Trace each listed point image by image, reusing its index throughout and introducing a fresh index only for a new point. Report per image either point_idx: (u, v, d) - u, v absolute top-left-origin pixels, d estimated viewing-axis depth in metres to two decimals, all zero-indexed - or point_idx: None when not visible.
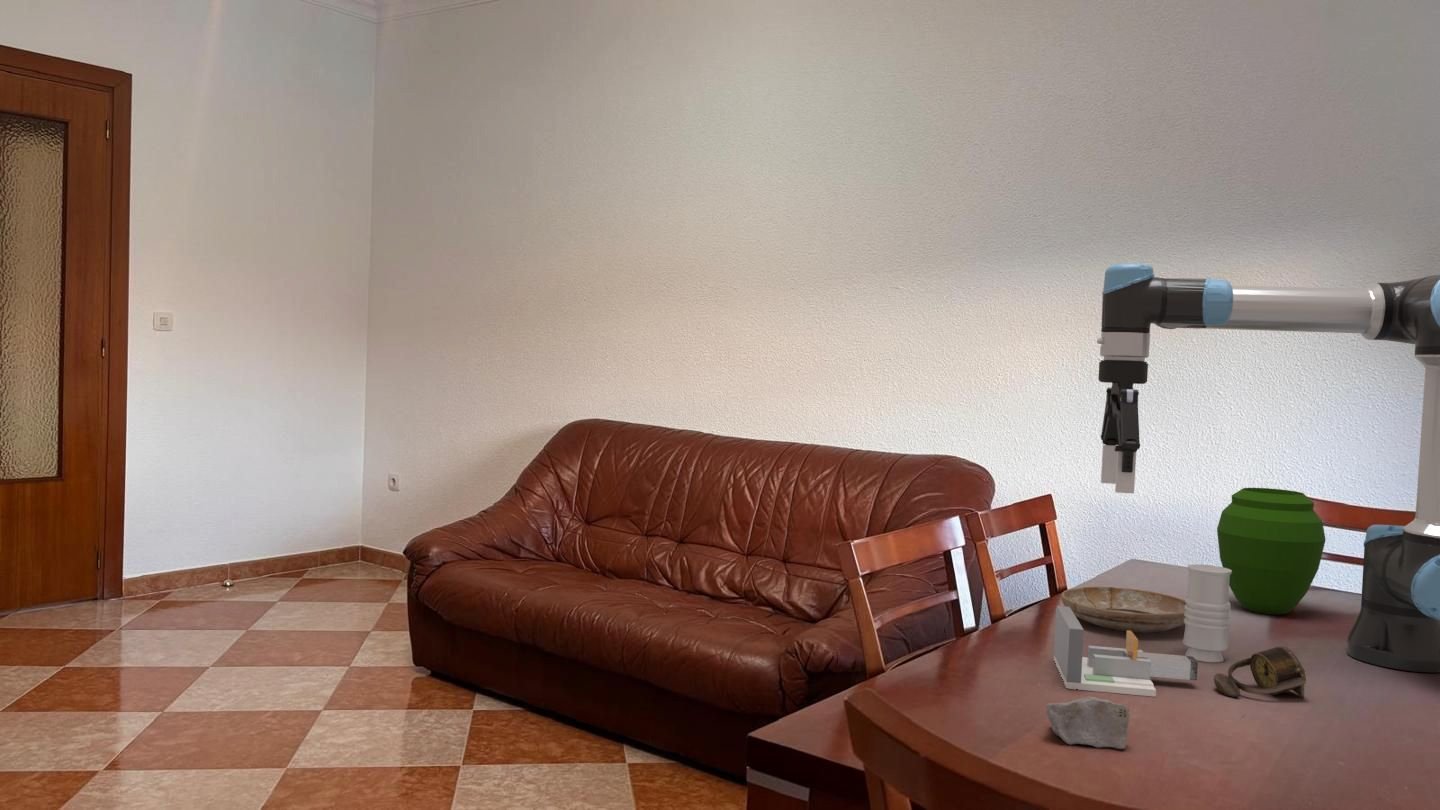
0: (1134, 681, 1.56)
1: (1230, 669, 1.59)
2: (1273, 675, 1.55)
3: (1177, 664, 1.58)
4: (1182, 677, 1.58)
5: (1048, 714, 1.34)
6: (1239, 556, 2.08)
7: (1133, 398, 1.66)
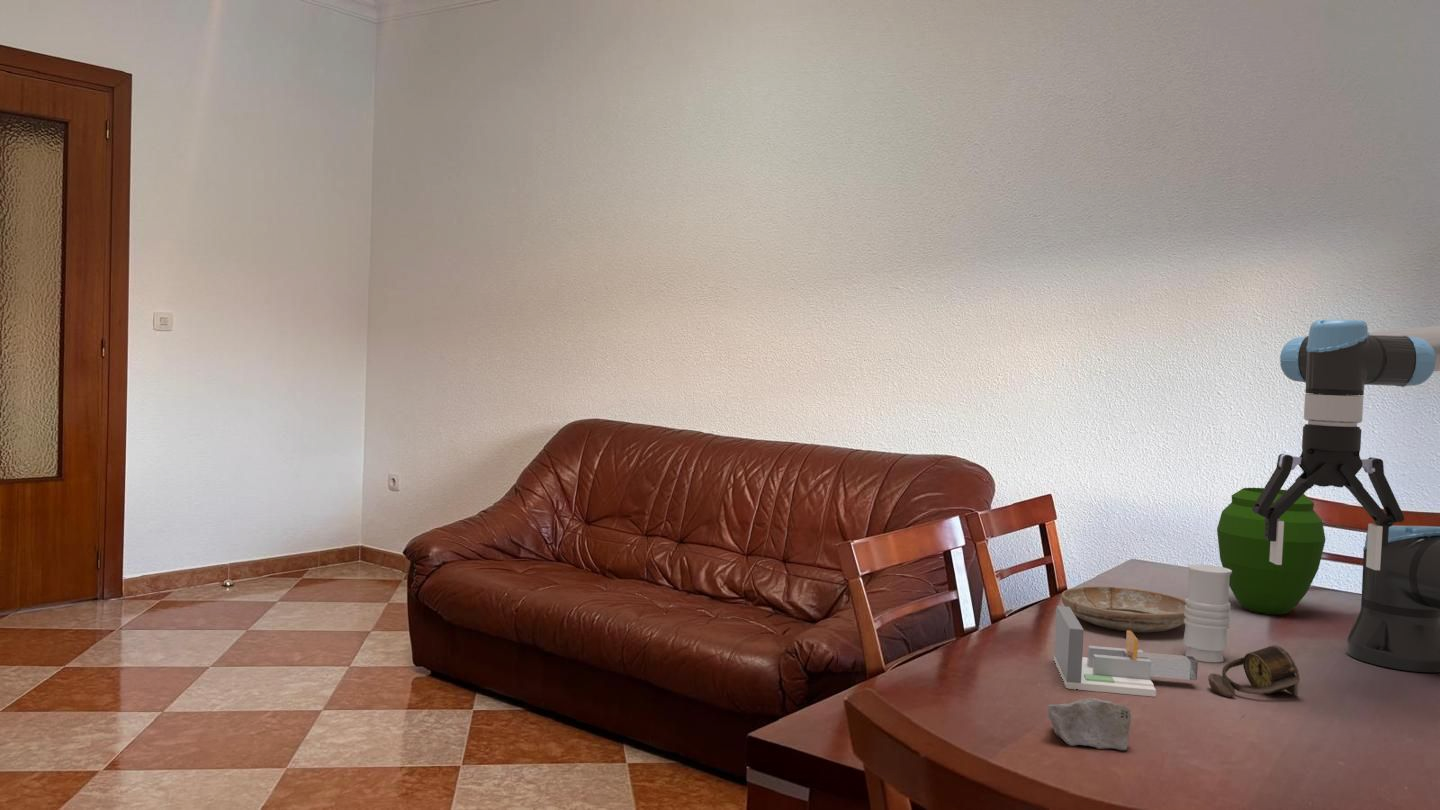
0: (1134, 681, 1.56)
1: (1224, 669, 1.59)
2: (1267, 675, 1.56)
3: (1177, 664, 1.58)
4: (1182, 677, 1.58)
5: (1050, 715, 1.33)
6: (1239, 556, 2.08)
7: (1281, 463, 1.56)
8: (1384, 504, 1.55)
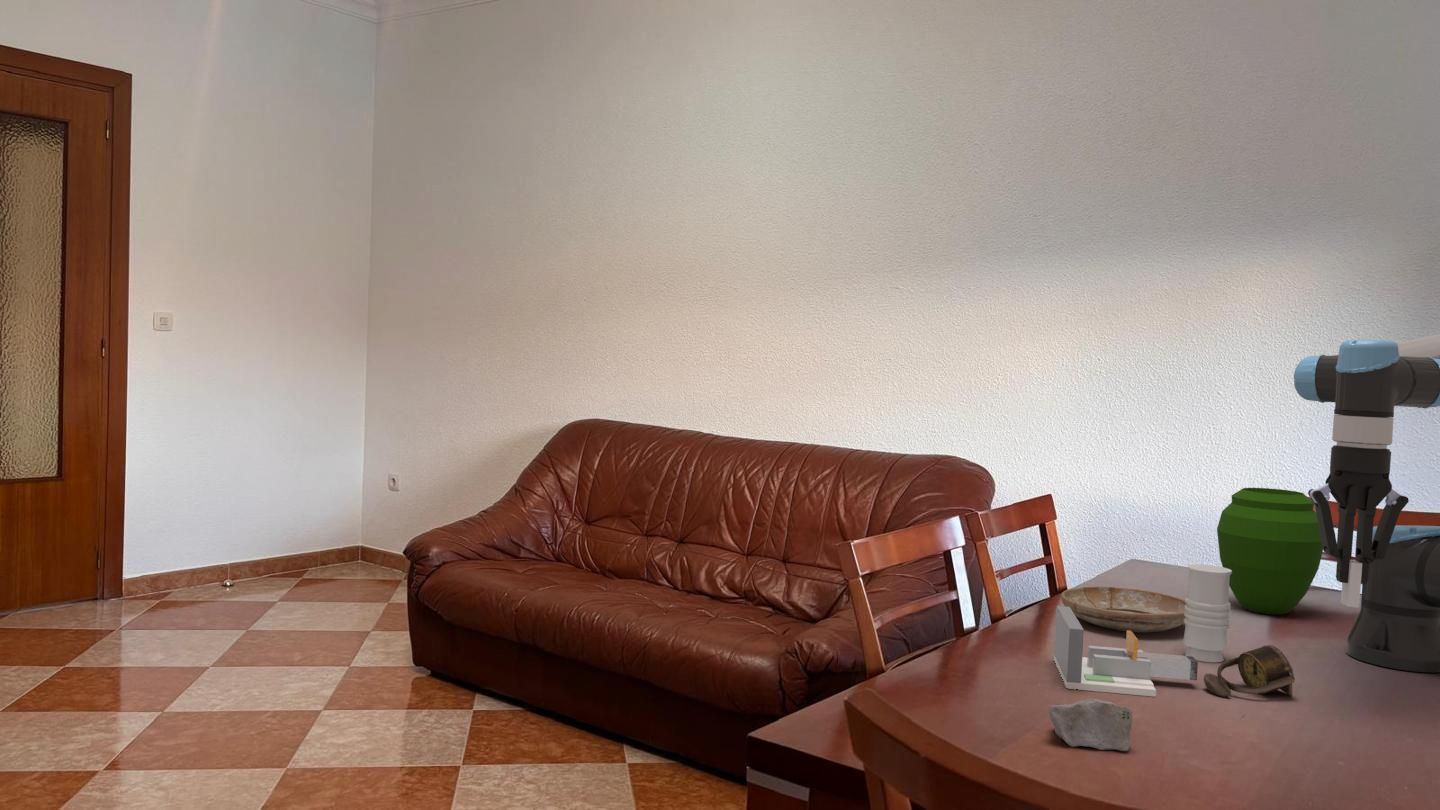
0: (1134, 681, 1.56)
1: (1219, 669, 1.59)
2: (1262, 674, 1.56)
3: (1177, 664, 1.58)
4: (1182, 677, 1.58)
5: (1051, 716, 1.33)
6: (1239, 556, 2.08)
7: (1316, 501, 1.54)
8: (1376, 537, 1.54)
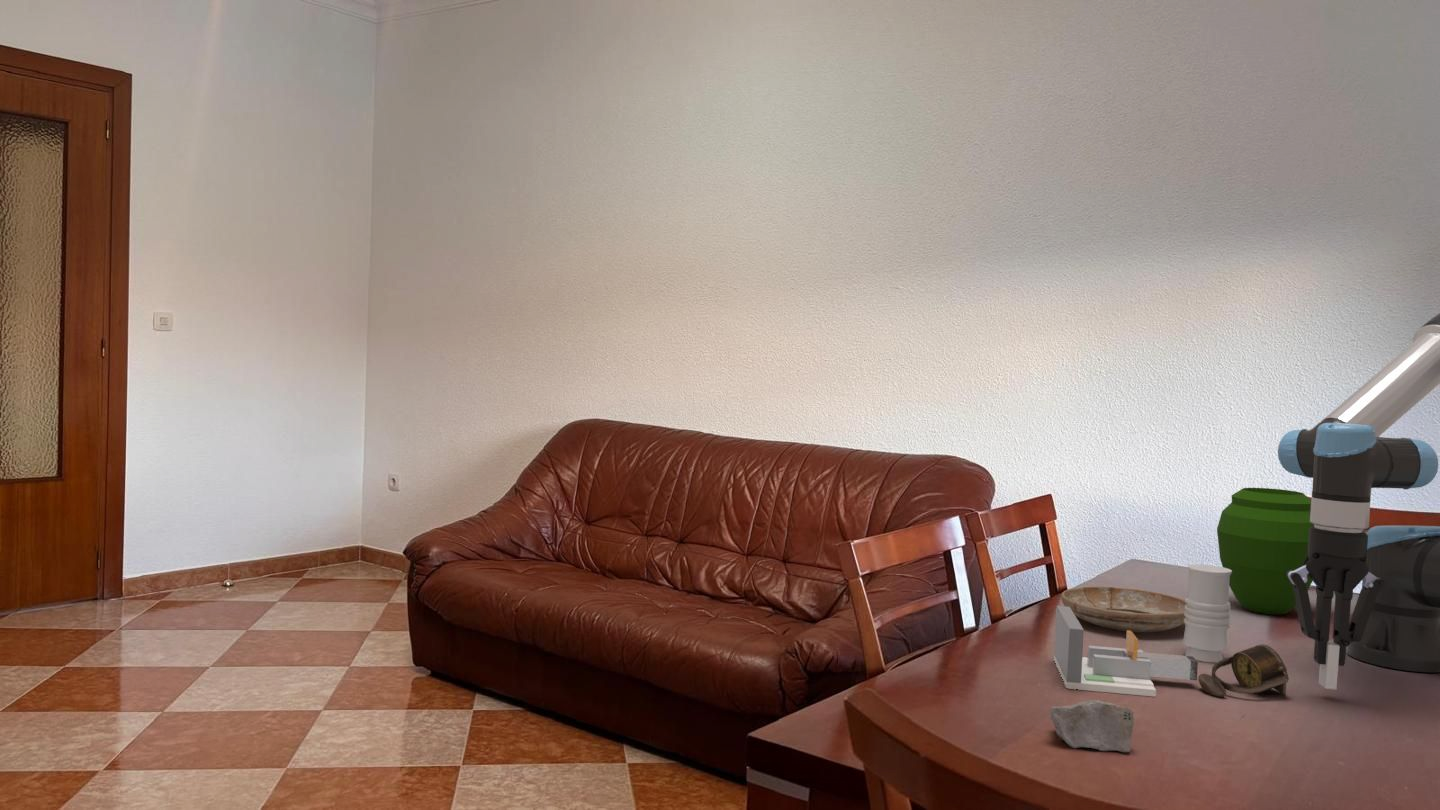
0: (1134, 681, 1.56)
1: (1213, 669, 1.58)
2: (1256, 674, 1.56)
3: (1177, 664, 1.58)
4: (1182, 677, 1.58)
5: (1052, 717, 1.33)
6: (1239, 556, 2.08)
7: (1294, 583, 1.55)
8: (1353, 619, 1.55)
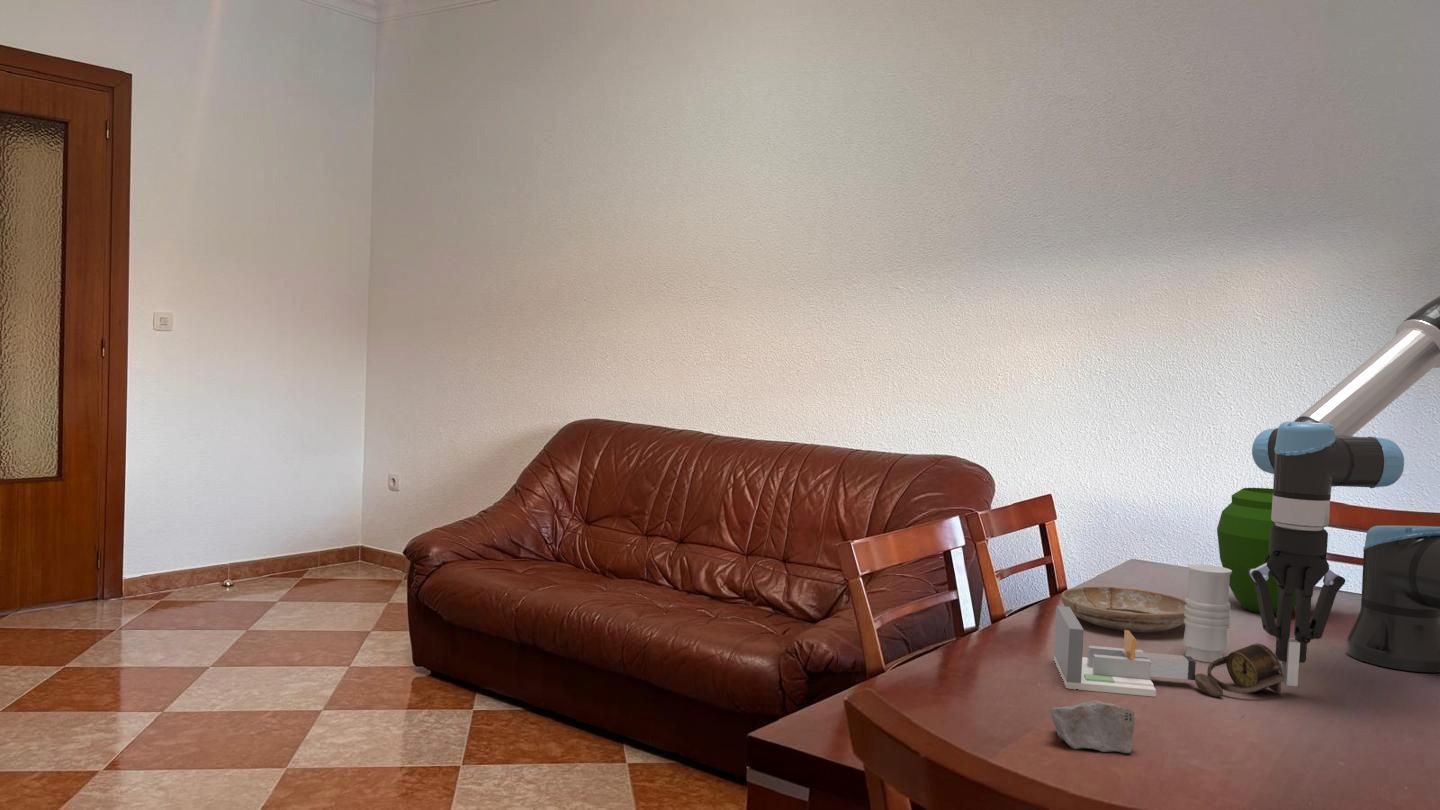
0: (1134, 681, 1.56)
1: (1209, 668, 1.58)
2: (1252, 673, 1.56)
3: (1175, 664, 1.58)
4: (1180, 677, 1.58)
5: (1053, 718, 1.32)
6: (1239, 556, 2.08)
7: (1255, 581, 1.56)
8: (1314, 617, 1.56)
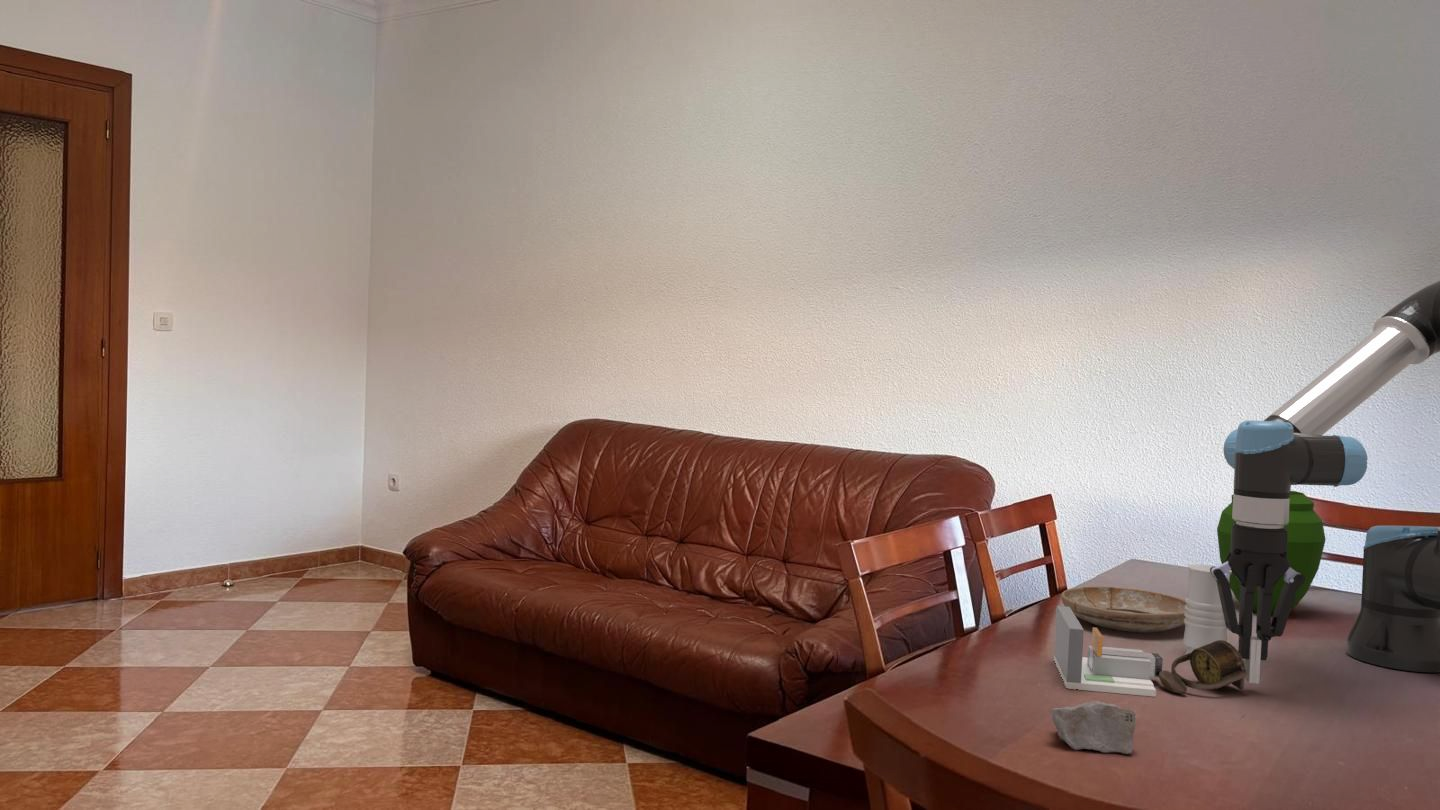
0: (1134, 681, 1.56)
1: (1173, 665, 1.59)
2: (1215, 670, 1.56)
3: None
4: None
5: (1053, 719, 1.32)
6: None
7: (1216, 579, 1.57)
8: (1276, 614, 1.56)
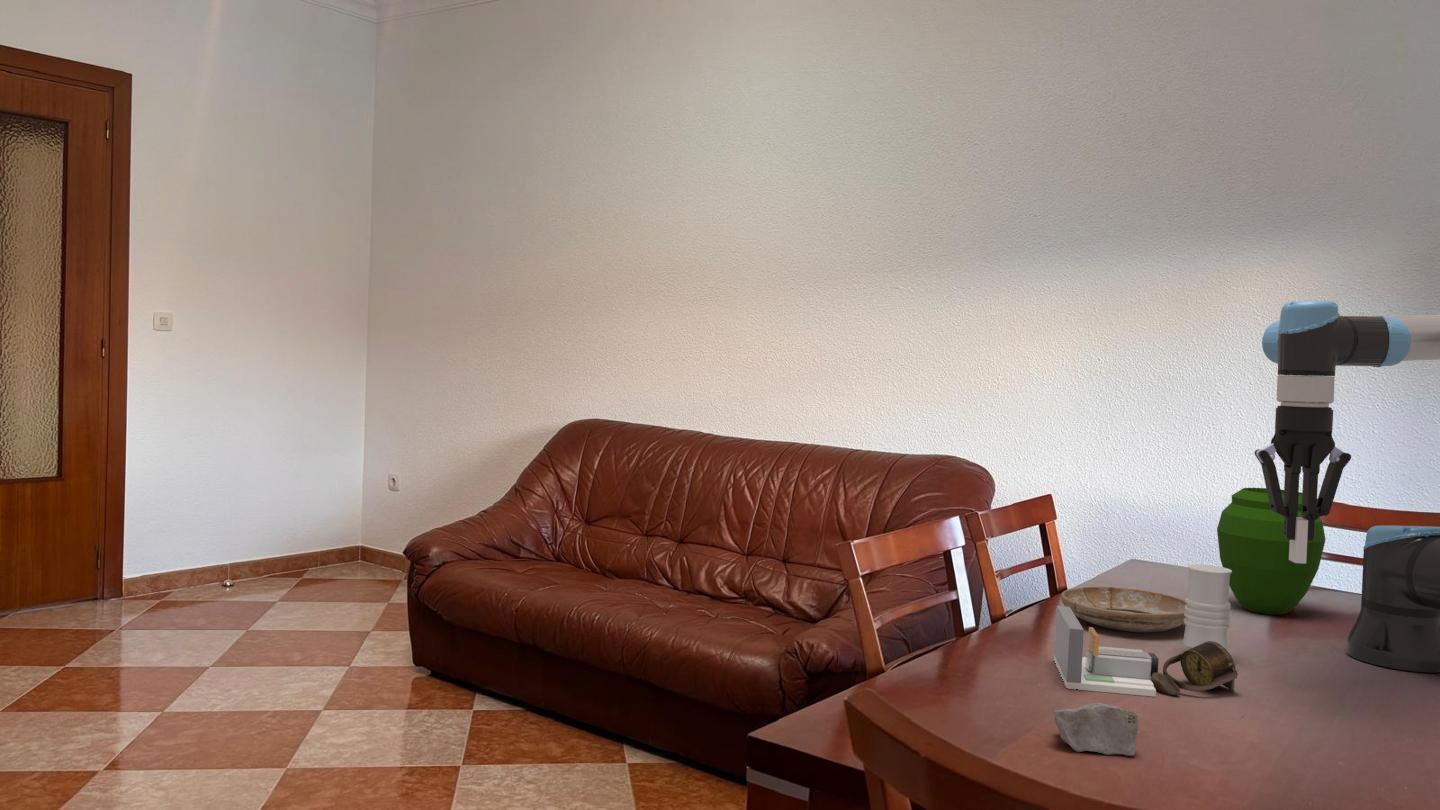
0: (1134, 681, 1.56)
1: (1164, 667, 1.58)
2: (1206, 671, 1.56)
3: None
4: None
5: (1056, 721, 1.31)
6: (1239, 556, 2.08)
7: (1262, 461, 1.57)
8: (1321, 494, 1.57)
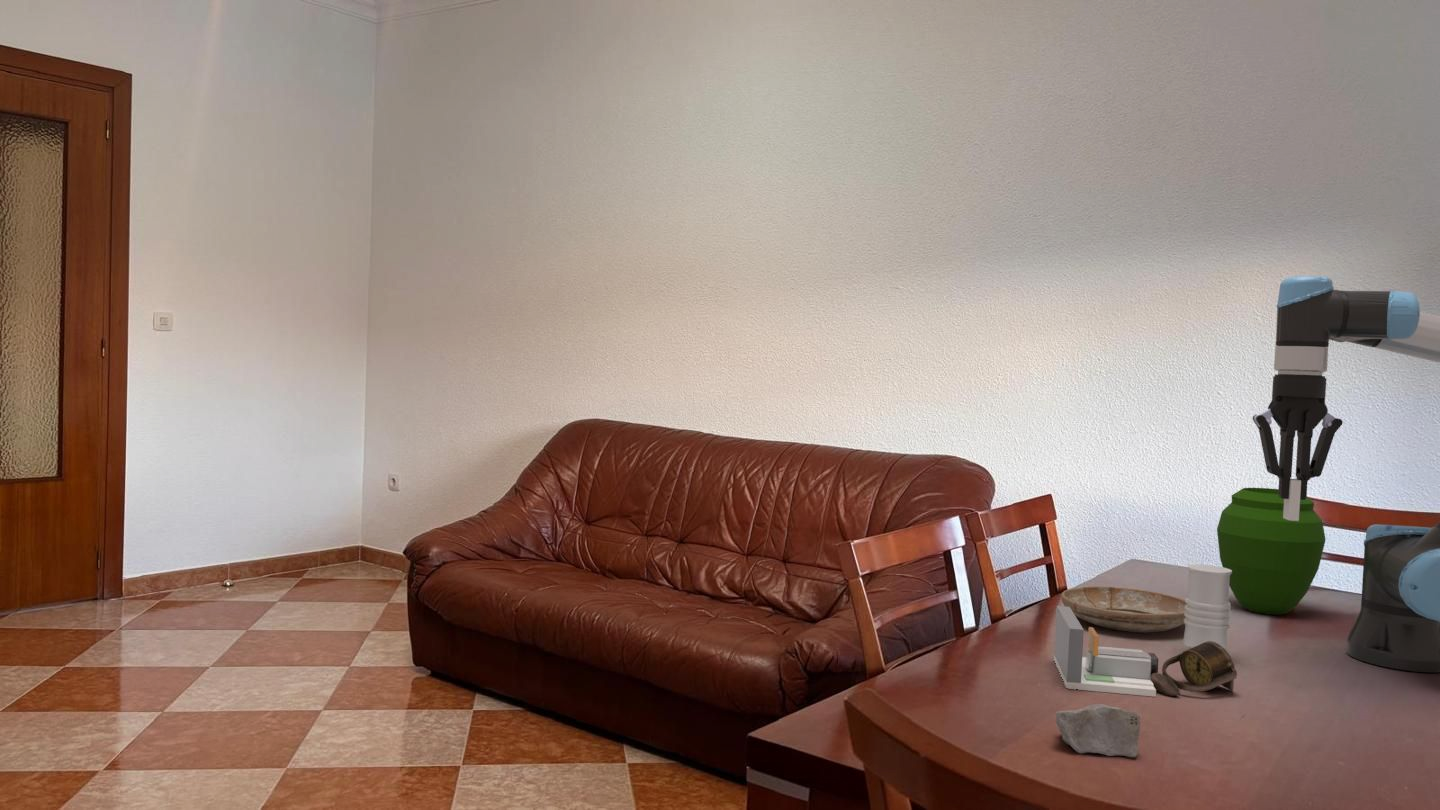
0: (1134, 681, 1.56)
1: (1164, 667, 1.58)
2: (1206, 671, 1.56)
3: None
4: None
5: (1058, 722, 1.31)
6: (1239, 556, 2.08)
7: (1259, 425, 1.69)
8: (1314, 457, 1.69)
